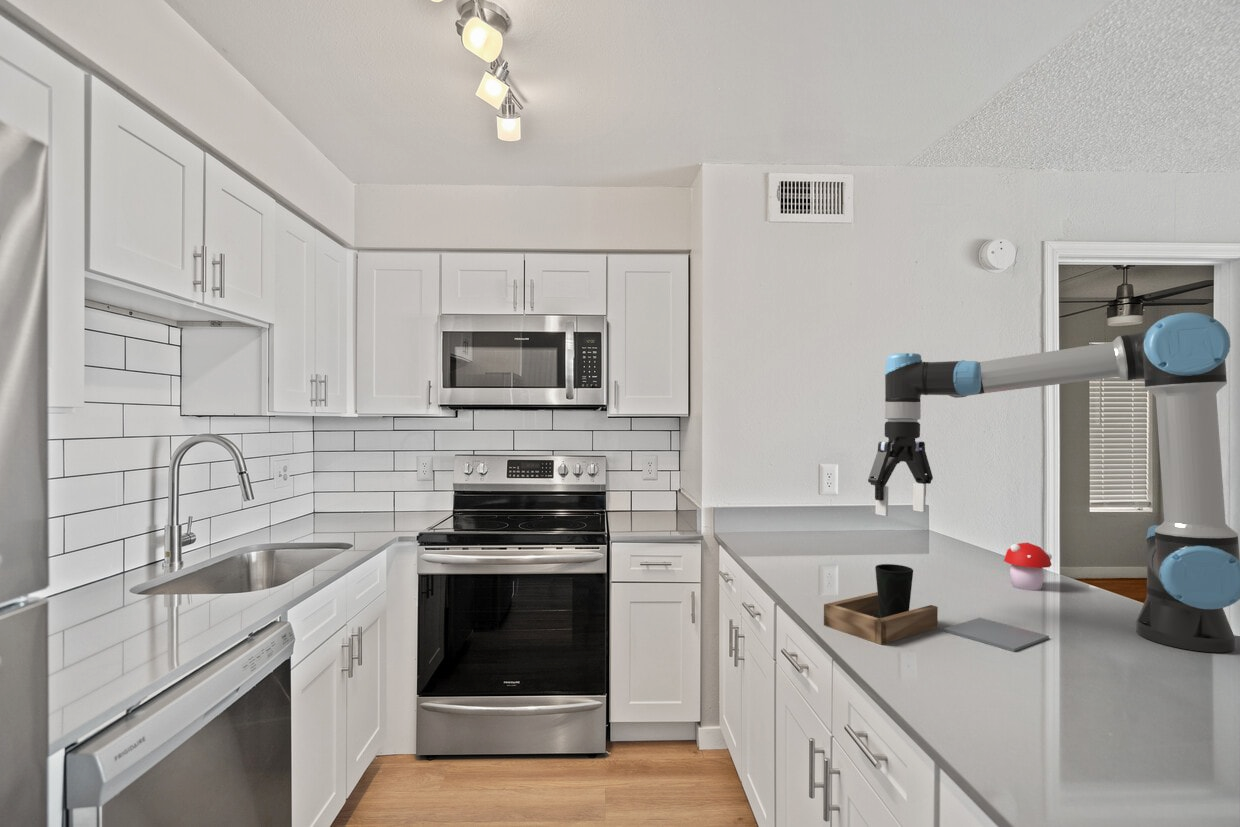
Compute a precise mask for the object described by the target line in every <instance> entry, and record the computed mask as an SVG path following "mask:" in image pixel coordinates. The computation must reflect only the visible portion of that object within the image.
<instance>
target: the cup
mask: <svg viewBox="0 0 1240 827" xmlns="http://www.w3.org/2000/svg"><path fill="white" fill-rule="evenodd" d="M874 568H875V580H876V592H878V603H879V614H878V615H879V619H880V618H884V617H887V616H891V615H895V614H899V613H902V612H906V611H910V605H911V595H912V585H913V578H914V569H913V568H912V567H910V566H906V565H902V564H892V563H891V564H890V563H885V564H884V563H882V564H877V565H875V566H874Z"/></svg>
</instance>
